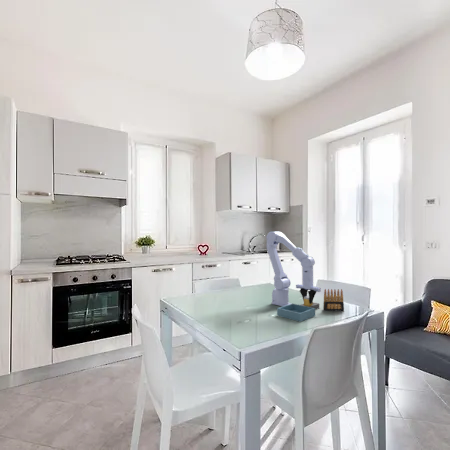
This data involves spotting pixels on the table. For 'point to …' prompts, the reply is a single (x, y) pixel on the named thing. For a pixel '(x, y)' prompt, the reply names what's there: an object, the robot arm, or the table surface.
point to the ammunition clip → (333, 301)
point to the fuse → (307, 301)
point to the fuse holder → (313, 305)
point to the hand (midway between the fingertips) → (308, 302)
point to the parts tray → (296, 312)
